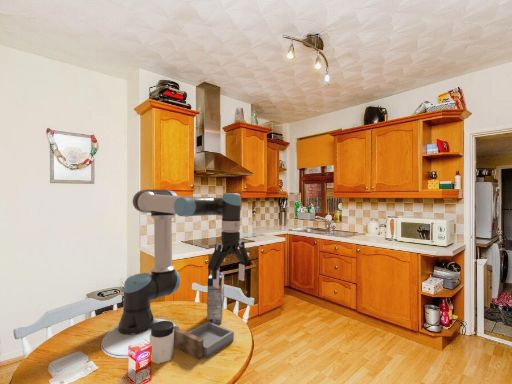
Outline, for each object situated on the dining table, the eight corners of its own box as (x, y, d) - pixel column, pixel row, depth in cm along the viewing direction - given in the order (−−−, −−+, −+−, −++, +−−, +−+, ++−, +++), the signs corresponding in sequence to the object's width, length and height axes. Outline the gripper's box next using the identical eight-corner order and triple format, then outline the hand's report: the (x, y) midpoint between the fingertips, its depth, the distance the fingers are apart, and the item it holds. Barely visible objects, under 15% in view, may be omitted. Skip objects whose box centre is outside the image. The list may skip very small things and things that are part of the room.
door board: (168, 345, 110) (168, 328, 110) (174, 342, 112) (175, 325, 113) (197, 361, 100) (198, 342, 100) (204, 357, 102) (204, 338, 103)
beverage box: (206, 324, 129) (207, 278, 130) (210, 314, 140) (211, 272, 141) (220, 324, 130) (222, 278, 130) (223, 314, 140) (224, 272, 141)
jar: (151, 366, 96) (152, 333, 96) (146, 355, 103) (147, 323, 103) (176, 359, 101) (177, 326, 101) (170, 348, 108) (171, 318, 108)
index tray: (180, 345, 110) (180, 335, 110) (208, 330, 123) (208, 321, 123) (206, 358, 102) (207, 348, 102) (233, 340, 115) (233, 331, 115)
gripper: (211, 234, 97) (209, 293, 97) (258, 229, 115) (256, 279, 115) (199, 232, 103) (197, 287, 102) (246, 228, 121) (244, 275, 120)
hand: (229, 283), depth 109 cm, fingers open, 13 cm apart
